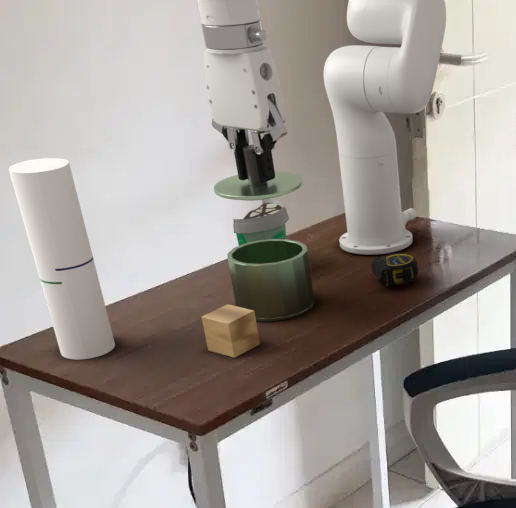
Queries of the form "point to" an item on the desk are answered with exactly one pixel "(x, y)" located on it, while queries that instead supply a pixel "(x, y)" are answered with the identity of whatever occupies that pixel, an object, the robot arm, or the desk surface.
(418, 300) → the desk surface
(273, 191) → the lid
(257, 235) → the food container
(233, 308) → the block
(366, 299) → the desk surface
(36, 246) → the cylindrical container
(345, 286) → the desk surface
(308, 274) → the tin
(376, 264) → the tape measure
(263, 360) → the desk surface
